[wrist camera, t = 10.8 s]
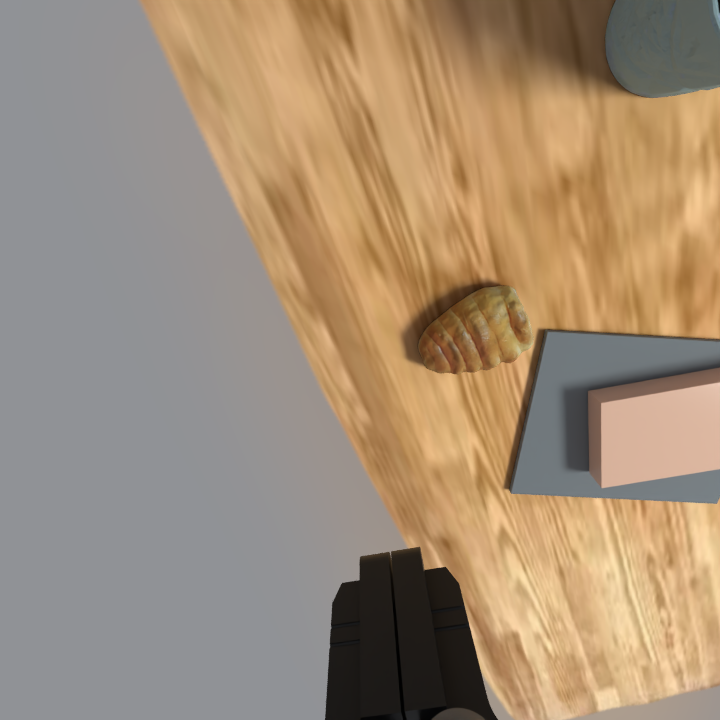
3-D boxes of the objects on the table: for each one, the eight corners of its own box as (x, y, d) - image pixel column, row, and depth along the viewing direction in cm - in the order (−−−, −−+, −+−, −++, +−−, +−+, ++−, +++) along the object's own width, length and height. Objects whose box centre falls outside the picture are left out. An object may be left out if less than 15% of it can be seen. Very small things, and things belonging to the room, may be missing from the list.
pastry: (434, 383, 41) (441, 402, 38) (404, 320, 39) (408, 334, 36) (532, 340, 40) (549, 356, 36) (506, 272, 38) (521, 281, 34)
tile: (601, 488, 42) (759, 462, 41) (601, 403, 38) (772, 372, 37) (588, 471, 44) (737, 447, 43) (587, 390, 41) (748, 361, 40)
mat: (545, 329, 39) (548, 331, 39) (780, 343, 40) (786, 345, 39) (509, 489, 46) (511, 493, 45) (712, 499, 46) (716, 503, 45)
